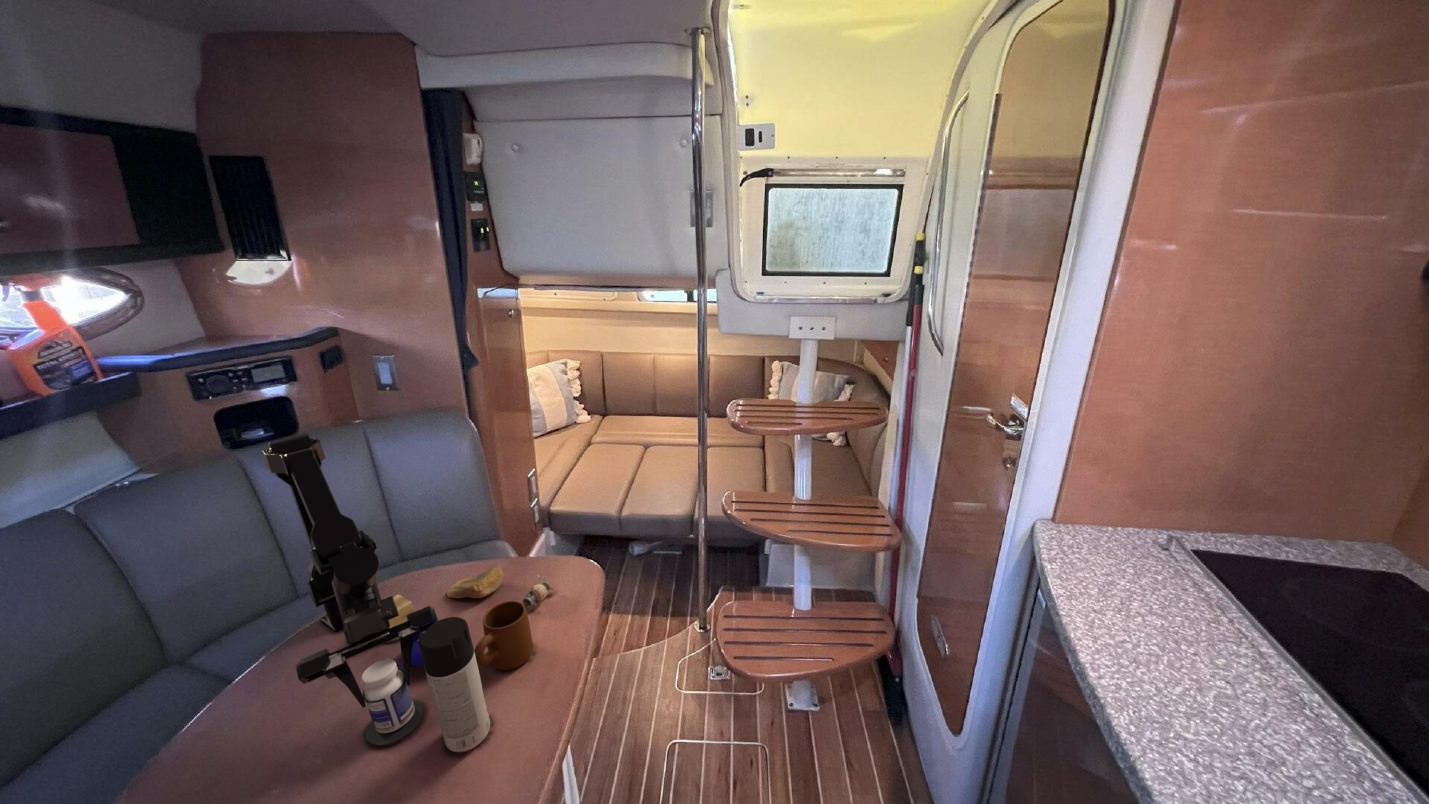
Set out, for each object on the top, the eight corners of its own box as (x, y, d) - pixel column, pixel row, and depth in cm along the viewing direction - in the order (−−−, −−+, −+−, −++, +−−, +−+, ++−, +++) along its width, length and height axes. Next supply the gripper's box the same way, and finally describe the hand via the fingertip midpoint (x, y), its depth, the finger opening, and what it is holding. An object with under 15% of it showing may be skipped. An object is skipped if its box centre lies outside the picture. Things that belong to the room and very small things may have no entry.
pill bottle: (409, 698, 89) (394, 650, 86) (419, 717, 85) (404, 668, 82) (371, 720, 85) (353, 671, 82) (379, 742, 81) (361, 691, 78)
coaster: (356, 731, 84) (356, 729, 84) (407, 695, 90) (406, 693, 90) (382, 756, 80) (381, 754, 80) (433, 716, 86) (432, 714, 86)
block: (378, 629, 105) (372, 608, 104) (404, 614, 109) (398, 593, 108) (391, 638, 103) (385, 617, 101) (417, 622, 107) (411, 602, 105)
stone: (470, 589, 109) (440, 589, 114) (480, 608, 111) (450, 607, 115) (502, 562, 117) (472, 563, 121) (511, 580, 118) (481, 580, 123)
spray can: (500, 722, 85) (478, 619, 79) (469, 760, 79) (442, 653, 72) (467, 711, 87) (443, 611, 81) (434, 748, 81) (405, 642, 75)
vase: (539, 574, 109) (516, 598, 107) (558, 592, 110) (536, 616, 108) (537, 572, 114) (516, 594, 112) (556, 588, 115) (535, 611, 113)
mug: (502, 696, 90) (493, 651, 87) (464, 687, 92) (454, 644, 89) (542, 644, 100) (534, 603, 98) (507, 637, 102) (499, 597, 99)
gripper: (278, 618, 75) (304, 729, 70) (423, 564, 86) (454, 657, 81) (292, 632, 83) (316, 733, 79) (422, 581, 94) (450, 667, 90)
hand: (387, 696), depth 82 cm, fingers closed on pill bottle, 6 cm apart
